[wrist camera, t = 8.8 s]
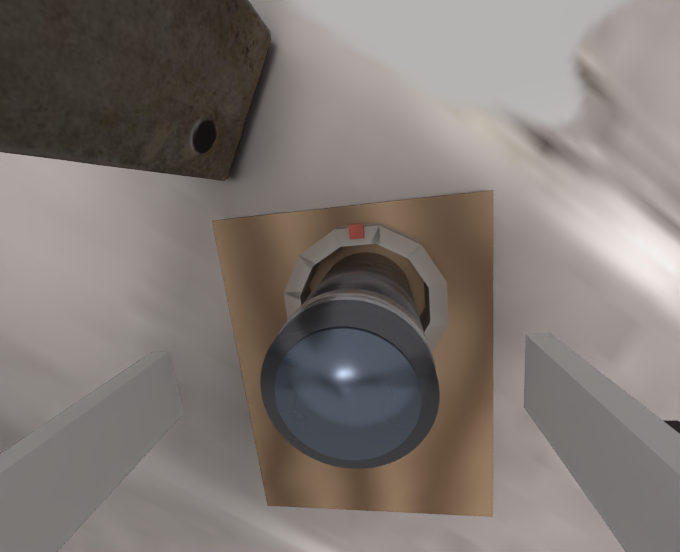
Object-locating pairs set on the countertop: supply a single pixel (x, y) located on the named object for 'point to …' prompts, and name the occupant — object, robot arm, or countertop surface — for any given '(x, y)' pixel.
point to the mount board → (454, 356)
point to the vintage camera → (130, 81)
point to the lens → (353, 368)
